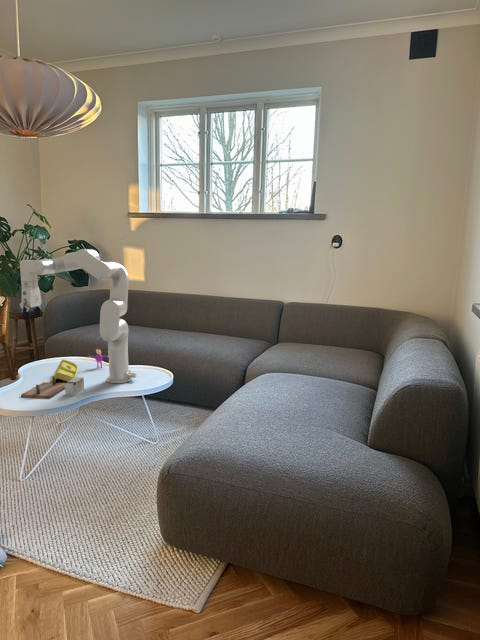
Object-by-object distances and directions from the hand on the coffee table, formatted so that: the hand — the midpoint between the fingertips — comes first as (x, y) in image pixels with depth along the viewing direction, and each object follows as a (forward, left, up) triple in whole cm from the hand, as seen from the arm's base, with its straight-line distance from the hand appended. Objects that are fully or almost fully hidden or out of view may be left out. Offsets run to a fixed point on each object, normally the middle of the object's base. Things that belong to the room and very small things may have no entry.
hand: (32, 317), depth 217 cm
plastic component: (-16, 0, -32) cm, 36 cm away
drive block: (-32, +21, -31) cm, 50 cm away
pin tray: (-18, +21, -31) cm, 42 cm away
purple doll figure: (-25, -20, -31) cm, 45 cm away
